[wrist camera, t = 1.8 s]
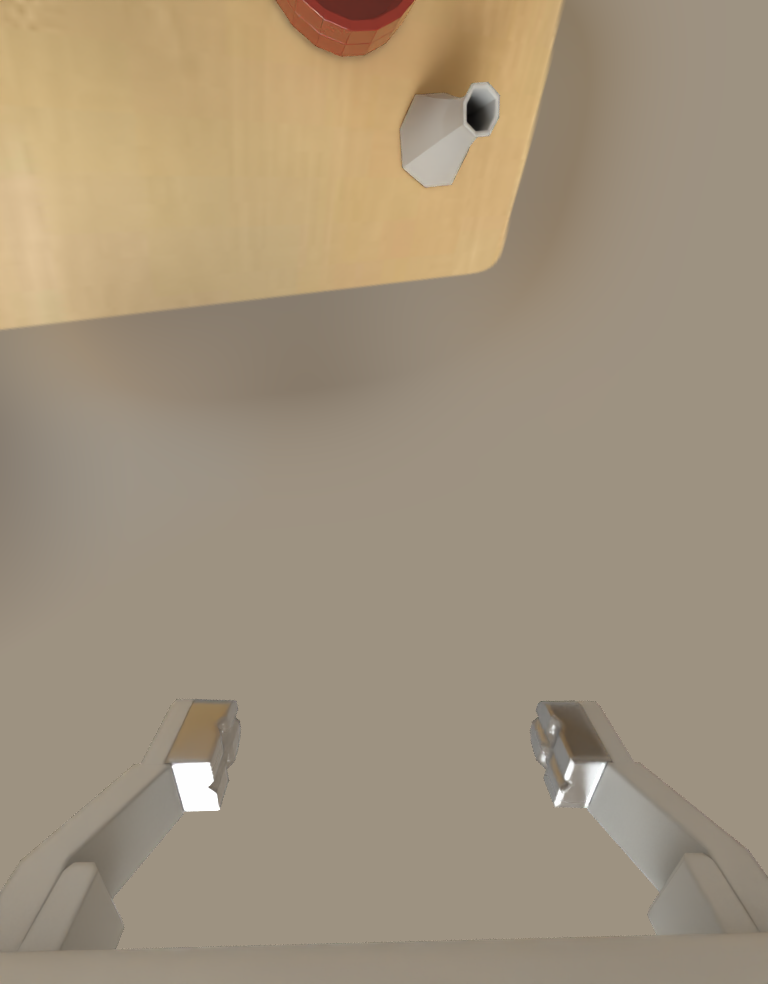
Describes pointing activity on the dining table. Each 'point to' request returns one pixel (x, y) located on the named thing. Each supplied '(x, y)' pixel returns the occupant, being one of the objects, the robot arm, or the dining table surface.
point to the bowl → (347, 22)
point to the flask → (445, 131)
